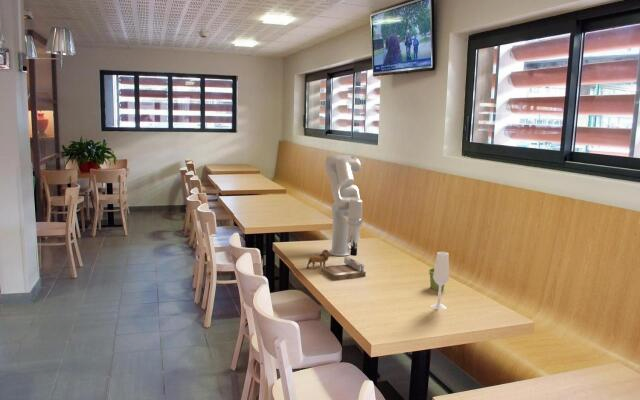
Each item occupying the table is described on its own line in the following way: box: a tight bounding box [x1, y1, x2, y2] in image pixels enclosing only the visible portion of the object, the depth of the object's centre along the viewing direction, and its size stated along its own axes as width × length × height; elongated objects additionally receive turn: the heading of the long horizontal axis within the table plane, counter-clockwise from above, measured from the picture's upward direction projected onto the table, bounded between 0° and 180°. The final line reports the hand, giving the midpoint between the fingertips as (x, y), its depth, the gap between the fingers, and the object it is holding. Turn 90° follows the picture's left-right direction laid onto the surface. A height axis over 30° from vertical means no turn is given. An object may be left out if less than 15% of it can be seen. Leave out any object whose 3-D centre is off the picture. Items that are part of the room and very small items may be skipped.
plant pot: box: [428, 267, 445, 291], centre depth 244 cm, size 9×9×9 cm
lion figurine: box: [306, 249, 330, 270], centre depth 271 cm, size 15×5×9 cm, turn 130°
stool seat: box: [320, 264, 367, 281], centre depth 261 cm, size 18×15×2 cm
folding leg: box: [343, 256, 365, 271], centre depth 265 cm, size 16×2×3 cm, turn 27°
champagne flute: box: [430, 251, 450, 311], centre depth 218 cm, size 7×7×24 cm
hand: (353, 255), depth 276 cm, fingers closed
